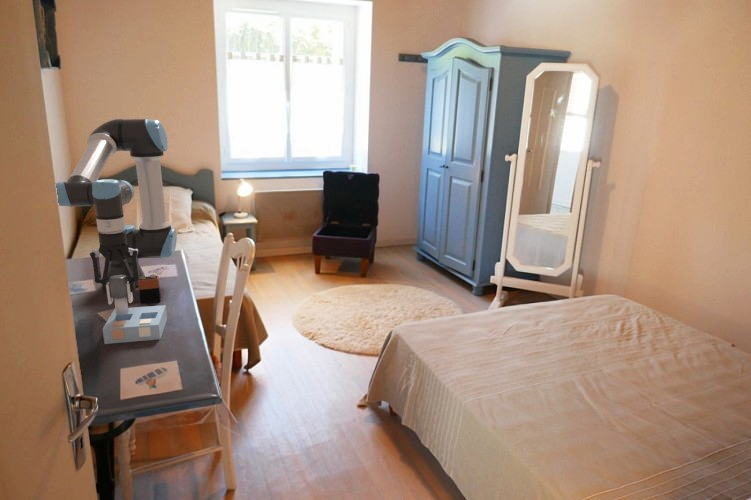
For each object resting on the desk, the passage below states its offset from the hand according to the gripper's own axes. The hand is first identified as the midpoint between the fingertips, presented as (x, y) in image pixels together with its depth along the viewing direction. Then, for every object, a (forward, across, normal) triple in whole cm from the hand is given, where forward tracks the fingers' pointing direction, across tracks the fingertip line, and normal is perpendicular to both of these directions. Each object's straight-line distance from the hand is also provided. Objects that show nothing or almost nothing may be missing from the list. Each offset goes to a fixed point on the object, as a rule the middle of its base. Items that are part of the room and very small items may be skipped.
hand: (120, 301), depth 164 cm
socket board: (+10, +4, 0) cm, 11 cm away
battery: (+10, +4, +26) cm, 28 cm away
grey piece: (+4, 0, 0) cm, 4 cm away
